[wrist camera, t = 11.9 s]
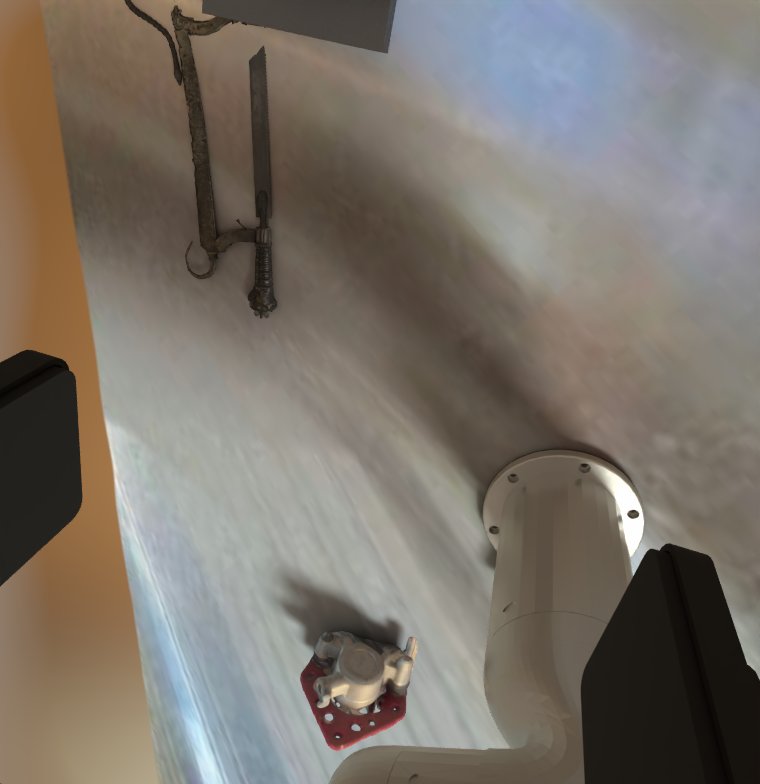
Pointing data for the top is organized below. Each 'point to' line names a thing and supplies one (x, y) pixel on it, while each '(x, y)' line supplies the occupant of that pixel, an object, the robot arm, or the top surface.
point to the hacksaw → (210, 242)
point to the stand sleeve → (316, 18)
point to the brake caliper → (357, 685)
